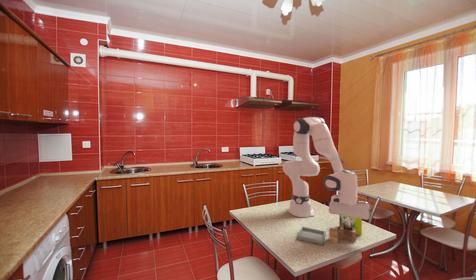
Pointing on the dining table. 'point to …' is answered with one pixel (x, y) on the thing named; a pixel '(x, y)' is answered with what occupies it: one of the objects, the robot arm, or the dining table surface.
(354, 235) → the brown square socket box
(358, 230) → the puzzle toy
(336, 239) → the oak block
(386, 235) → the dining table surface
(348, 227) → the cylinder
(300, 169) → the robot arm
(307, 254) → the dining table surface
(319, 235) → the tray
